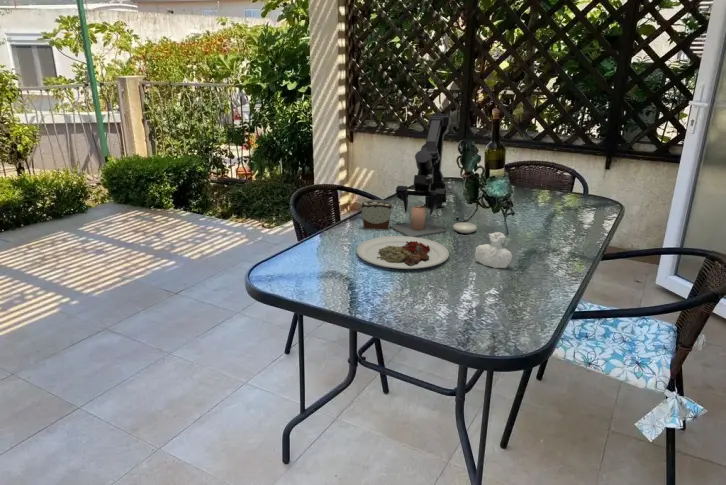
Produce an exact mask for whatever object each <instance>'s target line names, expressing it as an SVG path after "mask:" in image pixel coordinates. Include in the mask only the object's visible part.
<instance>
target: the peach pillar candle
mask: <svg viewBox="0 0 726 485" xmlns="http://www.w3.org/2000/svg"><path fill="white" fill-rule="evenodd" d="M426 212H427V207H426V206H424V205H421V204H416V205H412V206H411V216H410V217H411V218H410V219H411V220H410V221H411V222H410V223H411V229H413V230H424V229H425V221H426V214H427V213H426Z"/></svg>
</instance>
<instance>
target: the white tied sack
mask: <svg viewBox="0 0 726 485" xmlns="http://www.w3.org/2000/svg"><path fill="white" fill-rule="evenodd" d="M488 237H489V241H490V244H488V243H487V244H486V243H484V244H480V245H478V246H476V248H475V251H474V253H475V254H474V256H475V260H476V261H477V262H478V263H480V264H482V265H483V266H487V267H490V268H493V269H506V268H507V267H508V266H509V264H510V262H511V260H512V259H513V255H512V252H511V251H509V250H508V248H505V247H503V246H502V244H505V240H507V237H506V235H505V234H504V233H502V232H500V231H494V232H493V233H488Z"/></svg>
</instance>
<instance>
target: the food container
mask: <svg viewBox="0 0 726 485" xmlns="http://www.w3.org/2000/svg"><path fill="white" fill-rule="evenodd" d="M360 203H361V204H360V206H359V208H360V209H361V217H362V224H363V226H362V227H363V230H381V231H389V228H390V222H391V215H392V210H394V207H393V203H392V202H390V201H388V200H383V199H368V200H364V201H362V202H360Z"/></svg>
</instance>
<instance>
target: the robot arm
mask: <svg viewBox="0 0 726 485" xmlns="http://www.w3.org/2000/svg"><path fill="white" fill-rule="evenodd" d="M451 118H452V117H451V116H449V114H448V113H433V114H432V115H431V116H428V126H429V129H428V133H427V137H426V142H425V143H424V144H423V145H422V146H421V148H420V150H418V151H417V152H416V153H415V155H414V159H415V164H416V168H417V170H418V171H417V174H414V177H413V189H408V187H409V186H408V185H397V186H396V188H395V193H396V197H397V199H398V200H400V201H402V202H403V206H404V207H403V208H404V213H405V214H407V211H408V206H409V196H415V197H418V196H419V197H425V198H424V199H425V200H424V204H423V206H424V207H426V208H428V209H430V210H429V216H432V215H433V213H434V211H435V210H436V209H440V208H444V207H445V206H444V205H442V204H443V203H447V199H448V192H447V186H446V182H445V179H444V175H443V172H442V170H441V168H442V161H443V160H442V159H443V150H444V149H443V148H444V138H445V135H446V134H447V132H448V131H449V129H450V128H449V126H451V122H452V121H451V120H452V119H451Z"/></svg>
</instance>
